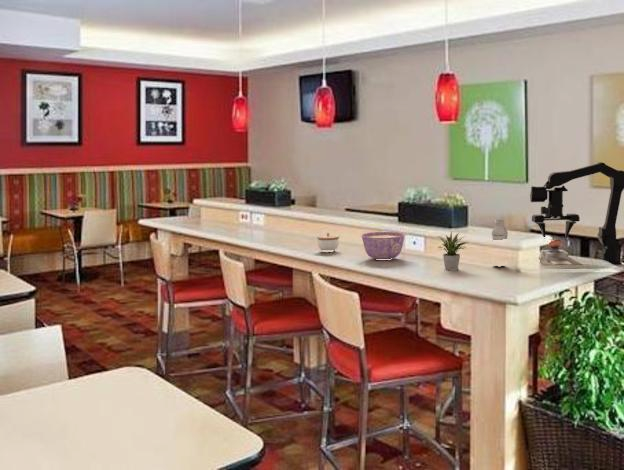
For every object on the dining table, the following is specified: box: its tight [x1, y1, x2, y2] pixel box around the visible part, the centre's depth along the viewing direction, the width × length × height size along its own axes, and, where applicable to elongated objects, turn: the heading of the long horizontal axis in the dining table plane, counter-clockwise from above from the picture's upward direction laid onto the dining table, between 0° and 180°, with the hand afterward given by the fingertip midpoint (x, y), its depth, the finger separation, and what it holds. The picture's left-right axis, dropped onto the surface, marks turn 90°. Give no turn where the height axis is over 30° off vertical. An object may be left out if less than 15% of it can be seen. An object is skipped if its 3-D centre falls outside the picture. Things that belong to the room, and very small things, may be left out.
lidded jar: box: [316, 232, 340, 251], centre depth 348 cm, size 11×11×9 cm
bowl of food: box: [361, 231, 406, 260], centre depth 322 cm, size 20×20×12 cm
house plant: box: [437, 230, 469, 271], centre depth 292 cm, size 14×14×16 cm
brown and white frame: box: [539, 249, 584, 270], centre depth 297 cm, size 16×18×5 cm
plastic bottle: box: [491, 219, 508, 241], centre depth 294 cm, size 6×7×20 cm
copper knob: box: [547, 238, 563, 253], centre depth 300 cm, size 6×6×9 cm
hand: (555, 238), depth 300 cm, fingers open, 9 cm apart
